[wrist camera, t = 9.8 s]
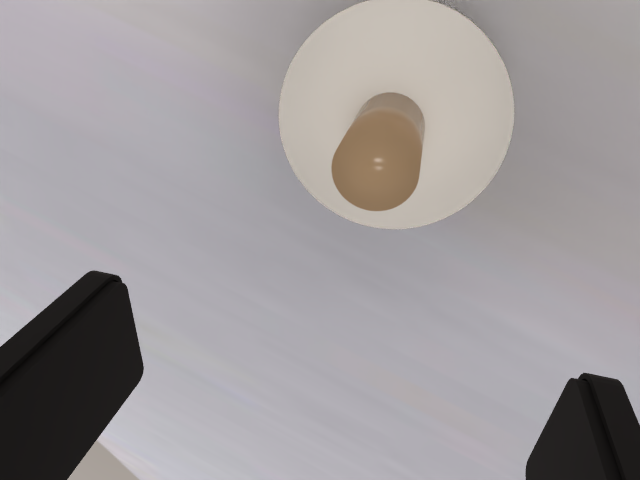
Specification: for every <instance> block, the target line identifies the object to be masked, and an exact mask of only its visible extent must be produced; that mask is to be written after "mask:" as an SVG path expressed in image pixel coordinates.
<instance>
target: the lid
mask: <svg viewBox="0 0 640 480" xmlns="http://www.w3.org/2000/svg"><path fill="white" fill-rule="evenodd" d="M514 111H515V110H514V98H513V91H512V86H511V82H510V78H509V75H508V73H507V70H506V68H505V65H504V62H503V61H502V59H501V57H500V55H499V54H498V52H497V50H496V48H495V47H494V45H493V44H492V42H491V41H490V40H489V39H488V37H487V36H486V35H485V34H484V32H483V31H482V30H481V29H480V28H479V27H478V26H476V25H475V24H474V23H473V22H472V21H471V20H470V19H468V18H467V17H465V16H464V15H463V14H461V13H460V12H458V11H457V10H455V9H453V8H450V7H448V6H446V5H444V4H442V3H439V2H436V1H433V0H368V1H364V2H361V3H358V4H356V5H354V6H351V7H349V8H347V9H345V10H343V11H341V12H339V13H337V14H336V15H334V16H333V17H331V18H330V19H328V20H327V21H325V22H324V23H323V24H322V25H321V26H319V27H318V28H317V29H316V30H315V31H314V32H313V33H312V34H311V35H310V36H309V37H308V38H307V40H306V41H305V42H304V43H303V44H302V46H301V47H300V49H299V50H298V52H297V53H296V55H295V56H294V58H293V60H292V62H291V64H290V66H289V68H288V70H287V73H286V76H285V79H284V82H283V85H282V90H281V95H280V100H279V130H280V135H281V140H282V144H283V147H284V151H285V154H286V157H287V159H288V161H289V163H290V165H291V167H292V169H293V171H294V173H295V174H296V176H297V178H298V179H299V181H300V182H301V183H302V184H303V186H304V187H305V188H306V189H307V191H308V192H309V193H310V194H311V195H312V196H313V197H314V198H315V199H316V200H317V201H319V202H320V203H321V204H323V205H324V206H325V207H326V208H328V209H329V210H331V211H333V212H334V213H336V214H337V215H339V216H341V217H343V218H346V219H348V220H350V221H352V222H355V223H358V224H361V225H365V226H370V227H374V228H382V229H408V228H415V227H420V226H424V225H428V224H432V223H434V222H437V221H440V220H442V219H445V218H447V217H448V216H450V215H452V214H454V213H456V212H458V211H459V210H461V209H462V208H464V207H465V206H466V205H468V204H469V203H470V202H472V201H473V200H474V199H475V198H476V197H477V196H478V195H479V194H480V193H481V192H482V191H483V190H484V189H485V188H486V187H487V186H488V184H489V183H490V182H491V180H492V179H493V177H494V176H495V175H496V173H497V172H498V170H499V168H500V166H501V164H502V162H503V160H504V158H505V156H506V153H507V150H508V147H509V144H510V141H511V136H512V131H513V127H514Z"/></svg>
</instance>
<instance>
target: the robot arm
mask: <svg viewBox="0 0 640 480" xmlns="http://www.w3.org/2000/svg"><path fill="white" fill-rule="evenodd" d="M143 369H144V367H143V361H142V356H141V352H140V347H139V342H138V337H137V332H136V327H135V323H134V318H133V313H132V308H131V303H130V299H129V294H128V289H127V286H126V285H125V284H124V283H122V280H121V278H120V277H119V276H117V275H113V274H108V273H104V272H99V271H90V272H88V273H87V274H85V275H84V276H83V277H82V278H81V279H79V280H78V281H77V282H76V283H75V284H73V285H72V286H71V287H70V288H69V289H68V290H66V291H65V292H64V293H63V294H62V295H61V296H59V297H58V298H57V299H56V300H55V301H54V302H52V303H51V304H50V305H49V306H48V307H47V308H45V309H44V310H43V311H42V312H41V313H40V314H38V315H37V316H36V317H35V318H34V319H33V320H31V321H30V322H29V323H28V324H27V325H25V326H24V327H23V328H22V329H21V330H20V331H18V332H17V333H16V334H15V335H14V336H13V337H11V338H10V339H9V340H8V341H7V342H6V343H4V344H3V345H2V346H1V347H0V480H67V479H68V478H69V476H70V475H71V474H72V472H73V471H74V470H75V468H76V467H77V465H78V464H79V463H80V461H81V460H82V459H83V457H84V456H85V455H86V453H87V452H88V451H89V449H90V448H91V446H92V445H93V444H94V442H95V441H96V440H97V438H98V437H99V436H100V434H101V433H102V432H103V430H104V429H105V428H106V426H107V425H108V424H109V422H110V421H111V419H112V418H113V417H114V415H115V414H116V413H117V411H118V410H119V409H120V407H121V406H122V405H123V403H124V402H125V401H126V399H127V398H128V397H129V395H130V394H131V392H132V391H133V390H134V388H135V387H136V386H137V384H138V383H139V381H140V380H141V377H142V374H143ZM526 480H640V425H639V423H638V420H637V418H636V416H635V413H634V411H633V408H632V406H631V404H630V401H629V399H628V396H627V394H626V392H625V389H624V387H623V385H622V383H621V382H620V381H619V380H617V379H612V378H608V377H603V376H598V375H593V374H588V373H583V374H581V375H580V377H579V378H578V379H574V378H571V379H569V381H568V382H567V384H566V386H565V388H564V390H563V392H562V394H561V396H560V398H559V400H558V402H557V404H556V406H555V408H554V410H553V412H552V414H551V416H550V417H549V419H548V421H547V423H546V425H545V427H544V429H543V431H542V433H541V435H540V437H539V439H538V441H537V443H536V445H535V447H534V449H533V451H532V453H531V455H530V457H529V459H528V461H527V465H526Z"/></svg>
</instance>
